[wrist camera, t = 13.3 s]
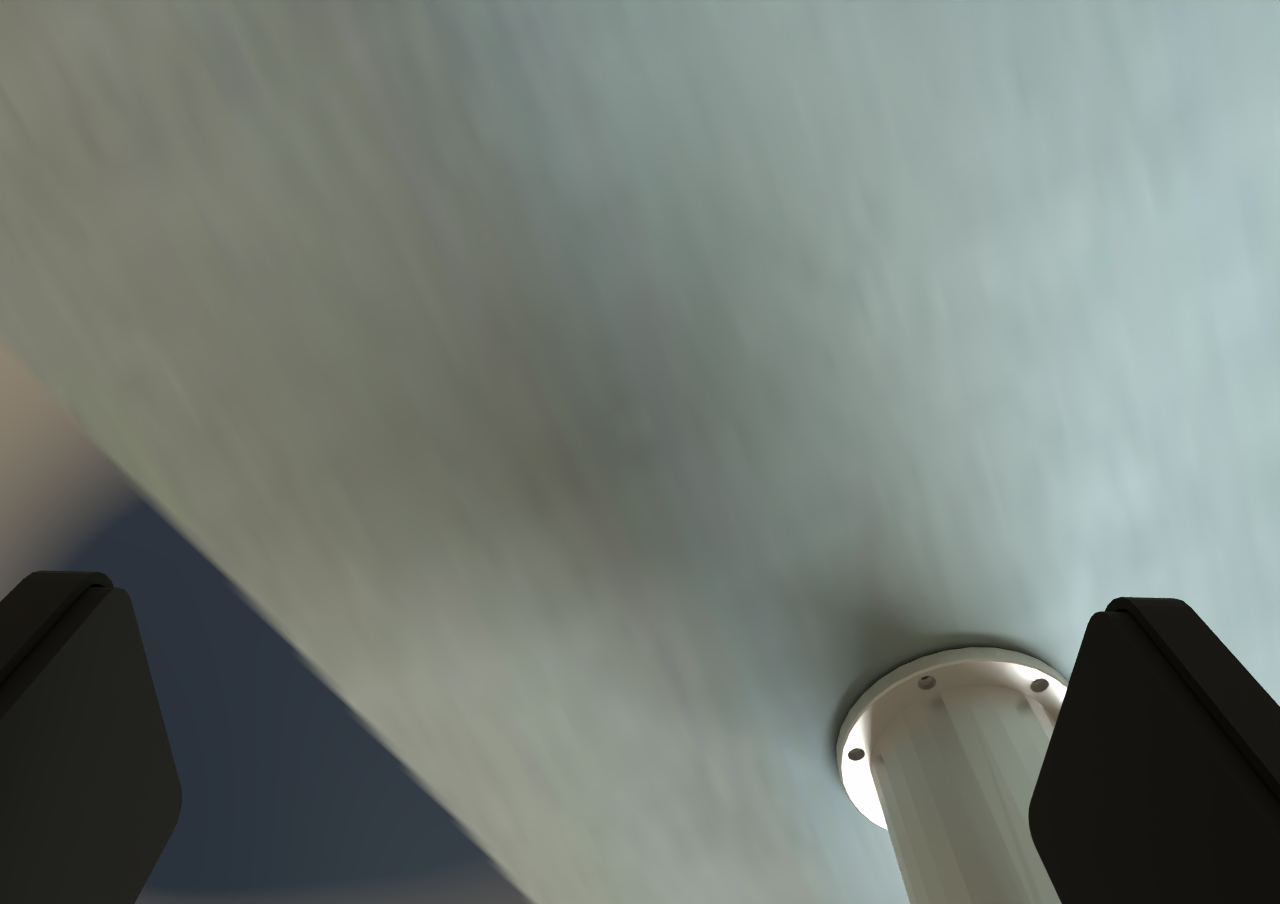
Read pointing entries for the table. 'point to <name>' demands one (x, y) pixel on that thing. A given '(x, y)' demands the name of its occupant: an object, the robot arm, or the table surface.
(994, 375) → the table surface
